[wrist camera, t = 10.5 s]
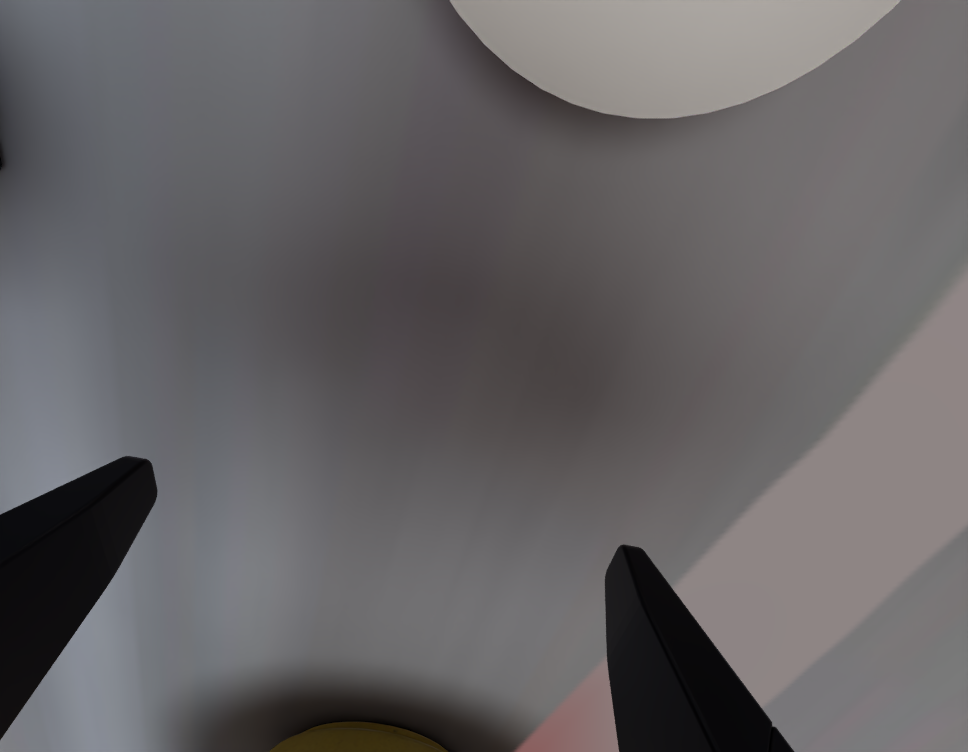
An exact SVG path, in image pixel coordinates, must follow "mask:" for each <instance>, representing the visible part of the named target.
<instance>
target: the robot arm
mask: <svg viewBox="0 0 968 752" xmlns="http://www.w3.org/2000/svg"><path fill="white" fill-rule="evenodd" d="M1 167H2V164H1V159H0V169H1ZM156 498H157V486H156V481H155V476H154V471H153V467H152V463H151V462H150V461H149V460H147V459H143V458H138V457H132V456H125V457H122V458H119V459H117V460H115V461H113V462H111V463H109V464H107V465H104V466H102V467H100V468H98V469H96V470H94V471H92V472H90V473H88V474H85V475H83V476H81V477H79V478H77V479H75V480H73V481H71V482H68V483H66V484H64V485H62V486H60V487H58V488H56V489H54V490H52V491H49V492H47V493H45V494H43V495H41V496H39V497H37V498H35V499H32V500H30V501H28V502H26V503H24V504H22V505H20V506H18V507H16V508H13V509H11V510H9V511H7V512H5V513H3V514H1V515H0V740H1V738H2V737H3V735H4V734H5V732H6V731H7V730H8V728H9V727H10V725H11V724H12V722H13V721H14V720H15V718H16V717H17V715H18V714H19V712H20V711H21V709H22V708H23V707H24V705H25V704H26V702H27V701H28V699H29V698H30V697H31V695H32V694H33V692H34V691H35V689H36V688H37V687H38V685H39V684H40V682H41V681H42V679H43V678H44V676H45V675H46V674H47V672H48V671H49V669H50V668H51V666H52V665H53V664H54V662H55V661H56V659H57V658H58V656H59V655H60V654H61V652H62V651H63V649H64V648H65V646H66V645H67V643H68V642H69V641H70V639H71V638H72V636H73V635H74V633H75V632H76V631H77V629H78V628H79V626H80V625H81V623H82V622H83V621H84V619H85V618H86V616H87V615H88V613H89V612H90V611H91V609H92V608H93V606H94V605H95V603H96V602H97V600H98V599H99V598H100V596H101V595H102V593H103V592H104V590H105V589H106V587H107V586H108V584H109V583H110V581H111V580H112V578H113V577H114V575H115V573H116V572H117V570H118V568H119V567H120V565H121V563H122V561H123V559H124V558H125V556H126V554H127V552H128V550H129V549H130V547H131V545H132V543H133V541H134V540H135V538H136V536H137V534H138V532H139V531H140V529H141V527H142V525H143V523H144V522H145V520H146V518H147V516H148V514H149V513H150V511H151V509H152V507H153V505H154V503H155V501H156ZM605 605H606V642H607V662H608V671H609V680H610V687H611V694H612V702H613V709H614V716H615V724H616V731H617V738H618V746H619V752H794V751H793V749H792V748H791V747H790V745H789V744H788V743H787V741H786V740H785V739H784V737H783V736H782V735H781V733H780V732H779V731H778V729H777V728H776V727H772V722H771V720H770V719H769V717H768V716H767V715H766V713H765V712H764V711H763V709H762V708H761V707H760V705H759V704H758V703H757V701H756V700H755V699H754V697H753V696H752V695H751V693H750V692H749V691H748V690H747V688H746V687H745V685H744V684H743V683H742V681H741V680H740V679H739V677H738V676H737V675H736V673H735V672H734V671H733V669H732V668H731V667H730V665H729V664H728V663H727V661H726V660H725V659H724V657H723V656H722V655H721V653H720V652H719V651H718V649H717V648H716V647H715V646H714V644H713V642H712V641H711V640H710V639H709V637H708V636H707V634H706V633H705V632H704V630H703V629H702V628H701V626H700V625H699V624H698V622H697V621H696V620H695V618H694V617H693V616H692V615H691V613H690V612H689V610H688V609H687V608H686V606H685V605H684V604H683V602H682V601H681V600H680V598H679V597H678V596H677V594H676V593H675V592H674V590H673V589H672V588H671V586H670V585H669V583H668V582H667V581H666V579H665V578H664V577H663V575H662V574H661V573H660V571H659V570H658V569H657V567H656V566H655V565H654V563H653V562H652V561H651V559H650V558H649V557H648V555H647V554H646V553H645V551H644V550H642V549H641V548H639V547H635V546H629V545H620V546H619V547H618V549H617V551H616V553H615V555H614V557H613V559H612V561H611V563H610V565H609V567H608V569H607V571H606V576H605Z"/></svg>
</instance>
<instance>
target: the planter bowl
mask: <svg viewBox="0 0 968 752" xmlns="http://www.w3.org/2000/svg"><path fill="white" fill-rule="evenodd" d="M269 752H448V751H447V750H446V749H444V748H443V747H442V746H440V745H439V744H437V743H436V742H434V741H432V740H430V739H428V738H426V737H424V736H422V735H419V734H417V733H414V732H412V731H409V730H406V729H402V728H398V727H395V726H390V725H384V724H378V723H370V722H349V721H348V722H336V723H329V724H323V725H320V726H316V727H313V728H311V729H308V730H306V731H304V732H302V733H301V734H298V735H295V736H292V737H290V738H288V739H286V740H284V741H282V742H281V743H279V744H278V745H276V746H275V747H274V748H273V749H271V750H270V751H269Z"/></svg>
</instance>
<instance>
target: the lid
mask: <svg viewBox="0 0 968 752" xmlns="http://www.w3.org/2000/svg"><path fill="white" fill-rule="evenodd" d="M900 1H901V0H450V2H451V4H452V5H453V7H454V8H455V10H456V11H457V13H458V14H459V15H460V16H461V18H462V19H463V20H464V21H465V22H466V24H467V25H468V26H469V27H470V28H471V29H472V31H473V32H474V33H475V34H476V35H477V36H478V38H479V39H480V40H481V41H482V42H483V44H484V45H485V46H487V47H488V48H489V49H490V50H491V51H492V52H493V53H494V54H495V55H497V56H498V57H499V58H500V59H501V60H502V61H503V62H504V63H505V64H507V65H508V66H509V67H510V68H511V69H512V70H514V71H515V72H517V73H518V74H520V75H521V76H523V77H524V78H526V79H527V80H528V81H530V82H531V83H533V84H534V85H536V86H537V87H539V88H540V89H542V90H544V91H546V92H548V93H550V94H553V95H555V96H557V97H559V98H561V99H563V100H565V101H567V102H569V103H571V104H574V105H578V106H581V107H584V108H587V109H591V110H594V111H597V112H601V113H604V114H611V115H617V116H624V117H631V118H678V117H685V116H692V115H699V114H706V113H710V112H714V111H717V110H721V109H724V108H728V107H732V106H735V105H739V104H742V103H745V102H747V101H750V100H752V99H755V98H757V97H759V96H762V95H764V94H767V93H769V92H771V91H774V90H776V89H779V88H781V87H783V86H784V85H786V84H788V83H790V82H792V81H793V80H795V79H797V78H799V77H801V76H802V75H804V74H806V73H808V72H810V71H811V70H813V69H815V68H817V67H818V66H820V65H821V64H823V63H824V62H825V61H827V60H828V59H830V58H831V57H833V56H834V55H836V54H837V53H838V52H840V51H841V50H843V49H844V48H846V47H847V46H848V45H850V44H851V43H853V42H854V41H855V40H857V39H858V38H859V37H860V36H861V35H862V34H864V33H865V32H866V31H867V30H868V29H870V28H871V27H872V26H873V25H874V24H875V23H877V22H878V21H879V20H880V19H881V18H882V17H884V16H885V15H886V14H887V13H888V12H889V11H891V10H892V9H893V8H894V7H895V6H896V5H897V4H898V3H899V2H900Z"/></svg>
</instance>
